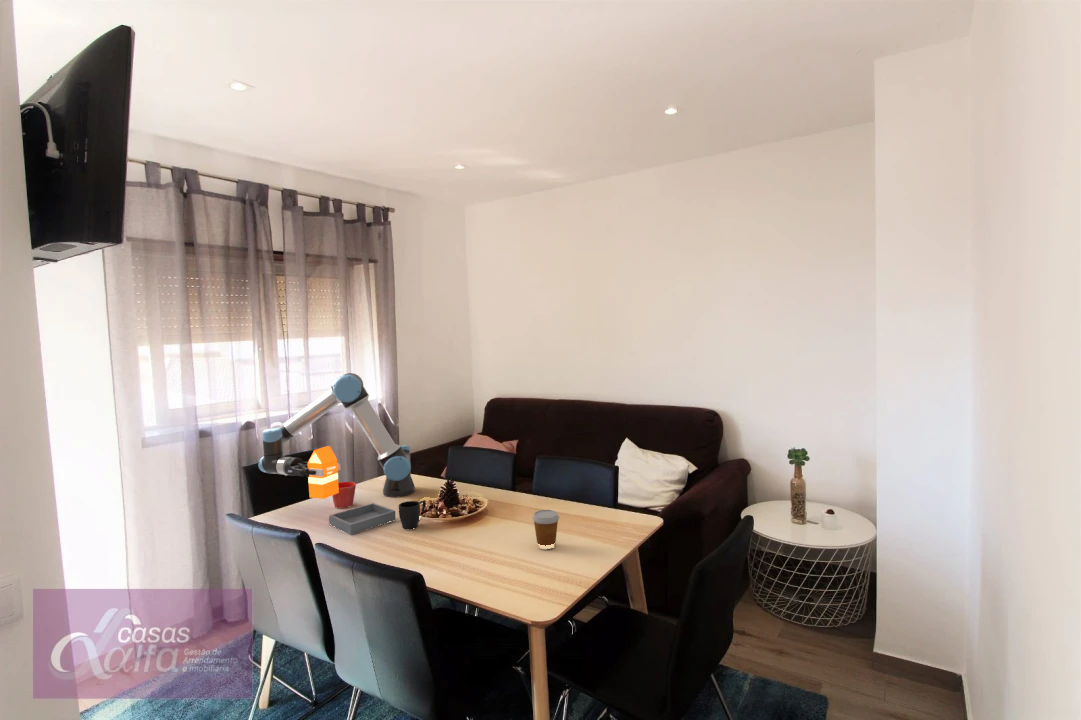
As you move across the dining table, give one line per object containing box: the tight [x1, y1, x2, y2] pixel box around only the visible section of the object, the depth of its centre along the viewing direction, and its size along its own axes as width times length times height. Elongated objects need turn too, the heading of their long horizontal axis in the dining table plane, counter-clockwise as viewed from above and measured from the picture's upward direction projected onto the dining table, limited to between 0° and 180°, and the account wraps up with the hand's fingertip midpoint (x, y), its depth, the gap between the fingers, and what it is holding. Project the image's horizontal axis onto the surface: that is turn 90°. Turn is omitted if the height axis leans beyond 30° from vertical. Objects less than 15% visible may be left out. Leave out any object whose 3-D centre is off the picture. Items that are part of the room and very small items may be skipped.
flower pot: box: [331, 481, 357, 509], centre depth 238 cm, size 11×11×10 cm
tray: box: [328, 502, 397, 536], centre depth 216 cm, size 20×17×4 cm
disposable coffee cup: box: [532, 509, 560, 546], centre depth 187 cm, size 10×10×12 cm
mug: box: [398, 500, 427, 530], centre depth 210 cm, size 8×12×10 cm
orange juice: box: [307, 445, 339, 500], centre depth 219 cm, size 8×9×20 cm
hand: (331, 469), depth 217 cm, fingers closed on orange juice, 9 cm apart
